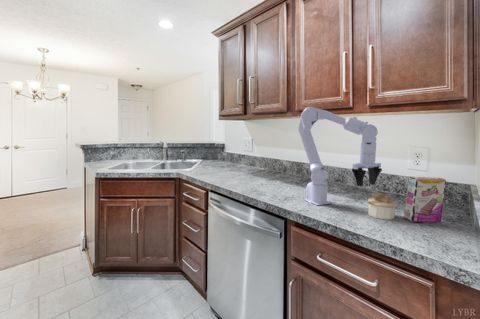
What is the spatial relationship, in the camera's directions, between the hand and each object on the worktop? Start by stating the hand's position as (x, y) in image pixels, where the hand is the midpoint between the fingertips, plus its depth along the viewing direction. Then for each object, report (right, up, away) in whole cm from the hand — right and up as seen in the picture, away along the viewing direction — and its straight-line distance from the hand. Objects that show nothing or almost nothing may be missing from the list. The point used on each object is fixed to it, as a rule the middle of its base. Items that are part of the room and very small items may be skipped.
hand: (365, 185), depth 108 cm
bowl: (+2, -11, -7) cm, 14 cm away
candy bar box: (+15, -12, -13) cm, 23 cm away
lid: (+2, -6, -8) cm, 11 cm away
